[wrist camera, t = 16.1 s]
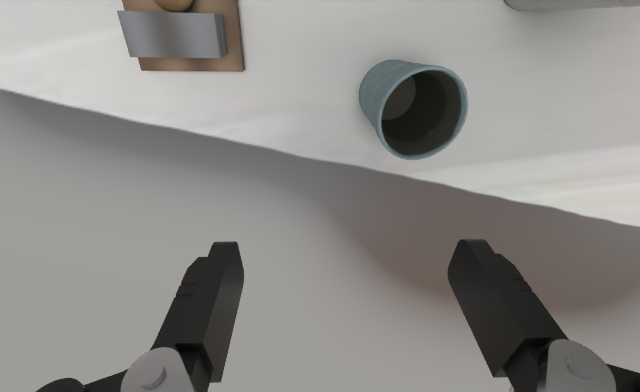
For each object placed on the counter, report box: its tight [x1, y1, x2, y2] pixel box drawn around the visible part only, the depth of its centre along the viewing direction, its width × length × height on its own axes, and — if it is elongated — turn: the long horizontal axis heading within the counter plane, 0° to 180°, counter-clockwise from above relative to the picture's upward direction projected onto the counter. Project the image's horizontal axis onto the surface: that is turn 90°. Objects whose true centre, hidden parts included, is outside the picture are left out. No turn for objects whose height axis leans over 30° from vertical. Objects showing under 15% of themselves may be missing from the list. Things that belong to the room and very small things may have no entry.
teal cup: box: [359, 60, 468, 160], centre depth 36 cm, size 10×10×12 cm
